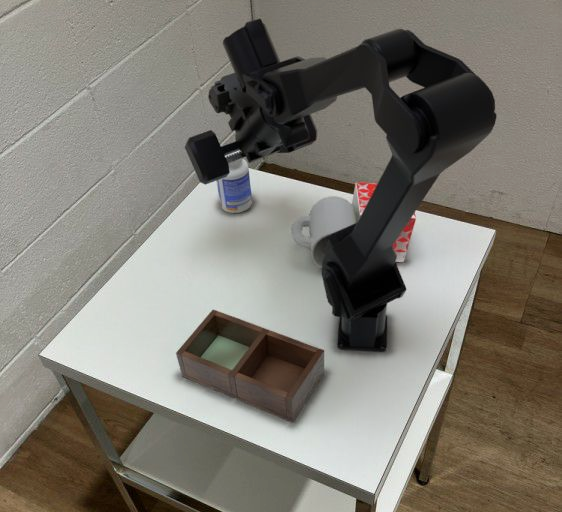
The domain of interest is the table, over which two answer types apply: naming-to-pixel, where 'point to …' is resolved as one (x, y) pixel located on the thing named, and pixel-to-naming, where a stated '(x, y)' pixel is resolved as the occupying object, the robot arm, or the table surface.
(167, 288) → the table surface
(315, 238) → the cup
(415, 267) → the table surface
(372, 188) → the red patterned cube
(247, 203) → the pill bottle
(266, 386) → the divided box
